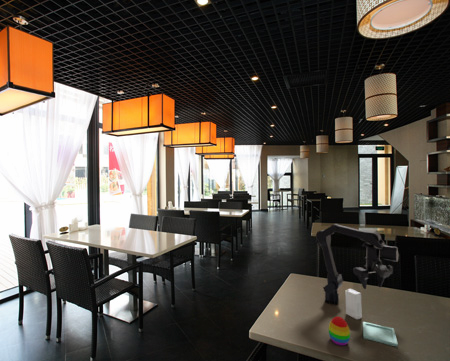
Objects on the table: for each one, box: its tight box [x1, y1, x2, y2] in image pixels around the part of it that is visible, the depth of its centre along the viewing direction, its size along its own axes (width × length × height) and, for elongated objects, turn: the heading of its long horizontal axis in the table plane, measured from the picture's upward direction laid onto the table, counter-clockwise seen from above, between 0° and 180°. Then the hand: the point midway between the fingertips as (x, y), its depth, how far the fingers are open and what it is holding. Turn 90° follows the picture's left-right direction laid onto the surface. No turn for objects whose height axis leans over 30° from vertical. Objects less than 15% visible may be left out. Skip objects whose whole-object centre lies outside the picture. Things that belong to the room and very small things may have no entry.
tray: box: [362, 321, 399, 348], centre depth 108 cm, size 12×12×1 cm
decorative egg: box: [328, 316, 351, 346], centre depth 103 cm, size 8×8×10 cm
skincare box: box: [344, 288, 363, 320], centre depth 123 cm, size 6×4×12 cm
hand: (372, 288), depth 124 cm, fingers open, 9 cm apart
